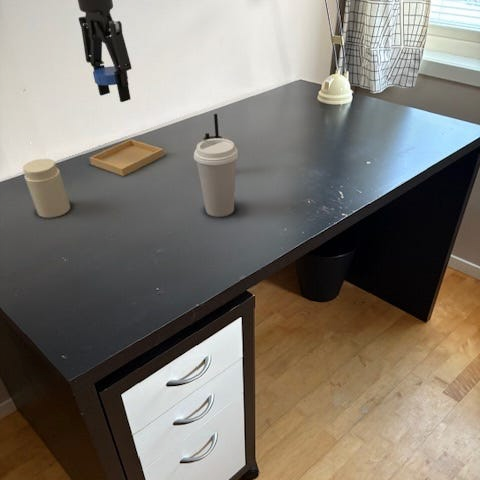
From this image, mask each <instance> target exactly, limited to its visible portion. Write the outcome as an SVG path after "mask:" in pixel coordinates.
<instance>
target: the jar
mask: <svg viewBox="0 0 480 480" xmlns="http://www.w3.org/2000/svg"><path fill="white" fill-rule="evenodd" d="M22 169H23V173H24V180H25V184H26V185H27V188H28V191H29V194H30V196H31V199H32V202H33V205H34V207H35V210H36V213H37V215H38V216H39V217H42V218H46V219H47V218H49V219H50V218H51V219H52V218H57V217H61V216H62V215H66V213H68V212H69V211H70V209H71V204H70V200H69V196H68V193H67V191H66V187H65V185H64V180H63V178H62V175H61V171H60V169H59V168H58V167H57V163H56V162H55V160H54V159H50V158H38V159H33V160H30V161H28V162H27V163H25V164H24V165H23V167H22Z"/></svg>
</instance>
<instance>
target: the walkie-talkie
mask: <svg viewBox="0 0 480 480" xmlns="http://www.w3.org/2000/svg"><path fill="white" fill-rule="evenodd" d="M213 122H214V135H210V133H208V132H206V133H205V134H204V135H205V136H204V137H203V140H202V141H204V140H208V139H214V138H221V139H223V137H222V136H221V135H220V134H219V119H218V113H214V114H213Z"/></svg>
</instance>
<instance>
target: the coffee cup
mask: <svg viewBox="0 0 480 480" xmlns="http://www.w3.org/2000/svg"><path fill="white" fill-rule="evenodd" d="M203 140H204V139H203ZM203 140H201V141H200V142H198V143H197V145H196V149H195V150H194V152H193V159H194V161H196V165H197V170H198V177H199V180H200V185H201V192H202V196H203V203H204V208H205V212H206V213H207V215H209V216H211V217H216V218H223V217H227V216H229V215H231V214H232V213H233V212H234V211H235V197H236V175H237V174H236V173H237V159H238V158H239V150H238V149H237V147H236V145H235V143H234V142H233V141H232V140H230V139H226V138H222V139H221V138H214V139H208V140H204V141H203Z"/></svg>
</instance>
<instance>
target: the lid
mask: <svg viewBox="0 0 480 480" xmlns="http://www.w3.org/2000/svg"><path fill="white" fill-rule="evenodd" d="M119 67H120V66H119ZM115 71H116V69H115V67H114V65H111V66H110V65H109V66H105V67H103V68H99V69H97V70H95V71H94V70H93V71H92V75H93V79H94V84H95V85H97V84H98V85H109V86H115V85H116V86H117V83H116V78H115V73H114V72H115ZM126 73H127V74H128V71H127V72H126ZM127 79H128V80H129V76H128V75H127ZM98 85H97V86H98Z"/></svg>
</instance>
